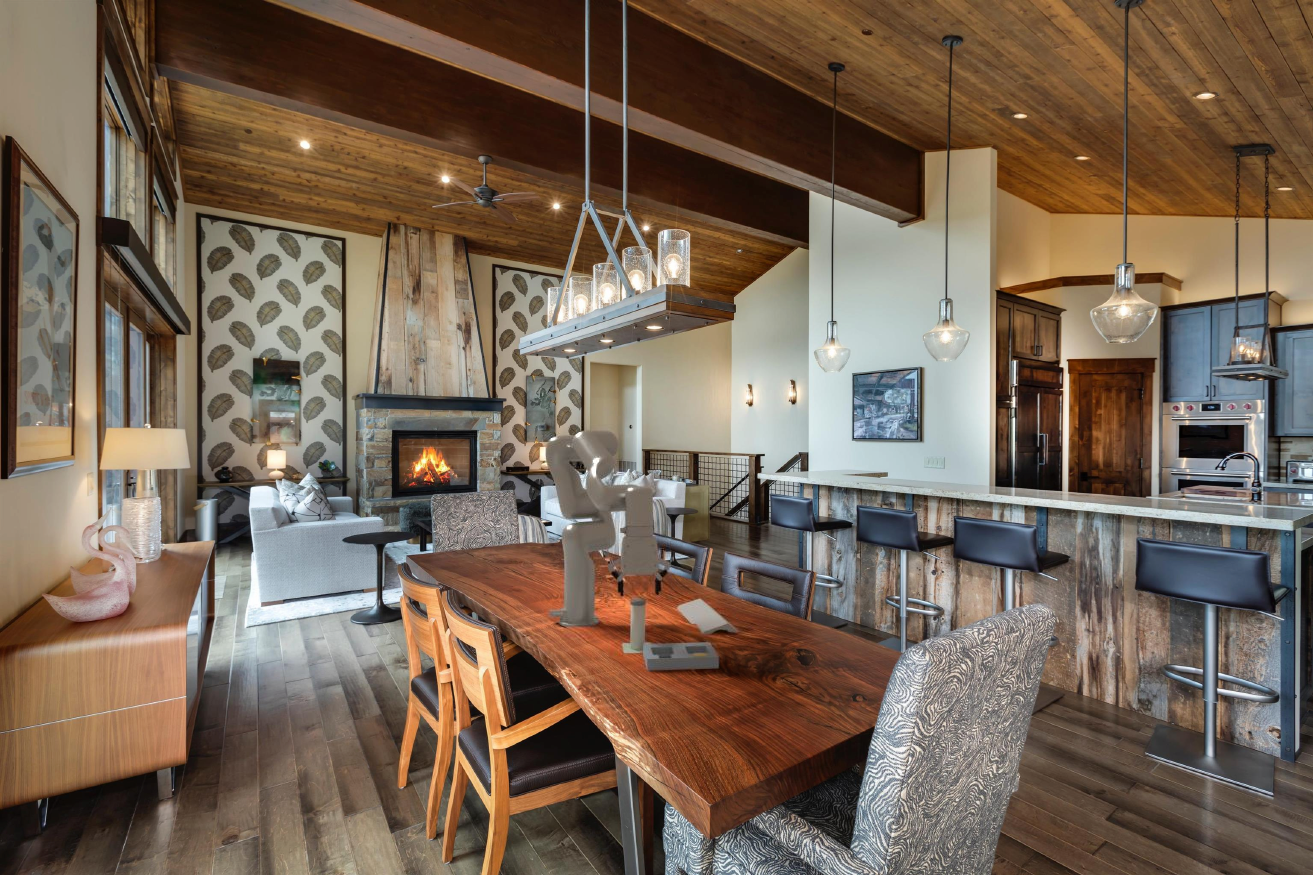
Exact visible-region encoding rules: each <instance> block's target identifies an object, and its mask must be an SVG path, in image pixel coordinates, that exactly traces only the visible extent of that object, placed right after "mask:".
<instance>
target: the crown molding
mask: <svg viewBox="0 0 1313 875" xmlns="http://www.w3.org/2000/svg"><path fill="white" fill-rule="evenodd" d="M676 609H677V610H678V611H679V612H680V614H682V615H683V617H684V618H685V619H687V621H688V622H689V623H690V624H691V625H696V626H697V627H698V629H699V631H700V632H701V634H702V636H703V635H705V636H706V635H712V634H713V633H714V632H716V631H719V630H722V631H727V632H728V633H736V634H737V633H740V631H739V630H738V629H737V628H736V627H735V626H734V625H733V624H731V623H730V622H729V621H728V620H727V619H725V617H723V616H722V615H721V614H720V613H719V612H717V611H716V609H714V608H713V607H712V606H710V605H709V604H708V603H707V602H705V600H703V599H702V598H697V599H695V600H692V601H688V602H685V603H682V604H679V605H678V606H677V608H676Z"/></svg>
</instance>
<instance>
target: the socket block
mask: <svg viewBox="0 0 1313 875" xmlns="http://www.w3.org/2000/svg"><path fill="white" fill-rule="evenodd" d="M642 655H643V656H642V657H643V659H644V664H645V667H646V671H669V670H670V671H671V670H674V671H675V670H676V671H677V670H702V669H705V670H707V669H709V670H710V669H719V667H720V666H719V665H720V657H719V655H718V653H717V651H716V650H715V648H714V647H713V645H712V644H711V642H710V641H709V642H708V641H707V642H706V641H705V642H702V641H701V642H678V643H677V642H672V643H671V642H670V643H669V642H667V643H666V642H665V643H651V644H643V653H642Z"/></svg>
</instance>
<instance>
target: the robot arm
mask: <svg viewBox="0 0 1313 875" xmlns="http://www.w3.org/2000/svg"><path fill="white" fill-rule="evenodd" d="M618 450H619V440H618V438H617V436H616V435H615V433H613V432H612V431H609V430H589V429H588V430H581V431H579V432H578V433H576V434H575V435H573V434H569V435H567V434H565V435H564V434H562V435H556V436H553V437H552V438H550V439H549V440H548V441H547V443H546V446H545V460H546V461H545V462H546V465H547V468H548V470H549V472H550V474H551V477H552V479H553V481H554V484H555V485H554V486H555V490H556V496H557V500H558V505H559V508H560V512H561V515H562V517H563V518H564V519H566V520H569V521H570V520H571V521H573V520H586V519H587V520H588V521H576V522H572V523H568V524H567V525H566V526H565V527H564V528H563V529H562V532H561V543H562V549H563V557H564V561H563V562H564V565H563V566H564V571H563V572H564V579H563V580H564V585H563V586H564V591H563V593H564V595H563V606H562V608H559V609H549V617H553V618H559V619H558V624H559V625H560V626H562V627H565V628H580V627H582V628H584V627H587V628H588V627H594V626H596V625H598V624H599V623H600V618H599V616H598V615H595V605H596V604H595V603H596V602H595V600H596V599H595V598H596V597H595V596H596V595H595V594H596V593H595V592H596V587H595V586H596V580H595V578H596V568H595V567H596V566H595V563H594V560H593V559H592V558H591V557H590V555H589V553H592V552H599V551H605V550H609V549H611V548H612V547H614V545H615V544H616V541H617V540H616V539H617V535H616V534H617V533H616V528H615V522H614V519H613V514H612V513H616V512H625V518H624V519H625V521H624V522H625V524H624V527H620V528H619V533H620V534H624V535H625V536H623V537H622V542H621V549H620V557H619V558H617V559H615V560H613V561H612V562H610V563H608V564H607V568H608V571H609V572H610V574H611V576H612V577H613V578H614V579H615V580H616V581H617V593H618V594H619V595H620V597H623V596H624V580H623V579H624V578H625V577H626V576H644V575H645V576H647V575H648V576H650V575H652V576H653V575H654V577H655V579H654V594H655V595H656V596H659V594H660V592H662V580H663V578H664V577H666V575H668V572H669V570H670V568H671V567H672V565H671V564H672V563H671V562H670V561H667V560H666V559H663V558H661V557H659V552H658V551H659V550H658V541H657V537H656V536H654V498H653V497H654V492H653V489H652V488H651V487H650V486H639V485H637V484H631V483H630V484H627V483H626V484H608V485H607V484H605V483H604V482H603V479H605V478H607V477H608V476H610V475H611V474H612V472H613V471H614V469H615V466H616V460H615V458H614V456H616V454H617V453H618ZM570 462H582V464H583V466H584V468H586V469H585V470H587V471H588V472H587V474H586V477H585V488H586V489H585V488H584V487H583V484H582V478H581V476H580V473H579V472H578V470H576V469H575V467H573V465H571V464H570ZM589 519H591V520H590V521H589ZM659 564H661V565H662V566H664V567H663V569H662V570H661V571H660V572H659ZM619 565H620V572H619V573H617V571H616V569H614V568H615V567H617V566H619Z"/></svg>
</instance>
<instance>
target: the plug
mask: <svg viewBox="0 0 1313 875" xmlns="http://www.w3.org/2000/svg"><path fill="white" fill-rule="evenodd" d="M646 605H647V600H646V598H641V597H635V598H631V599H630V638H629V639H630V640H629V641H630V642H629V643H630V648H631V649H633V650H642V649H643V644H645V643H646Z"/></svg>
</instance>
